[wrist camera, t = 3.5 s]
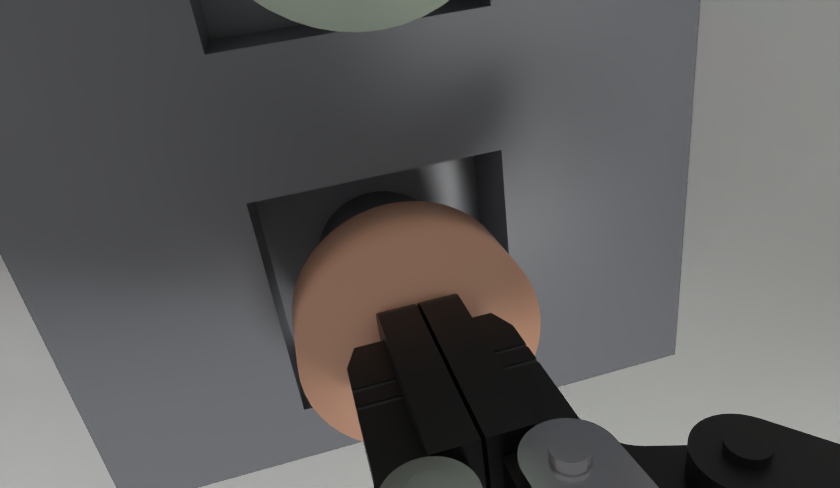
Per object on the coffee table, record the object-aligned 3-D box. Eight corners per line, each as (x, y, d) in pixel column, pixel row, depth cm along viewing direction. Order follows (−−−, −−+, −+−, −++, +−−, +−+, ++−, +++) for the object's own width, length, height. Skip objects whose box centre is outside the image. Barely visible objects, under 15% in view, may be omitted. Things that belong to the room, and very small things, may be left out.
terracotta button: (459, 140, 15) (535, 208, 11) (476, 304, 17) (545, 410, 13) (263, 180, 14) (269, 270, 10) (307, 347, 16) (325, 473, 12)
